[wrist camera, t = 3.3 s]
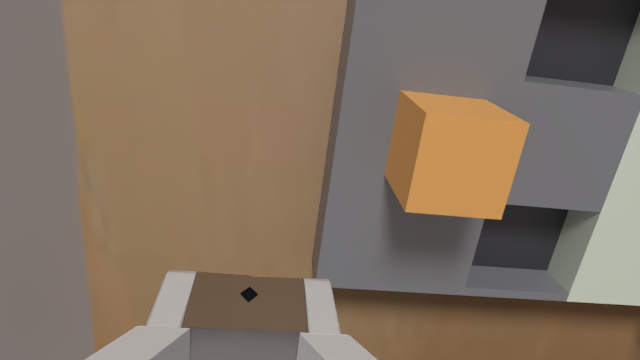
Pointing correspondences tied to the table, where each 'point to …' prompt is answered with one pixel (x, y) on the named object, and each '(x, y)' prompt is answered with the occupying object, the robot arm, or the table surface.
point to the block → (453, 155)
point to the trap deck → (534, 164)
